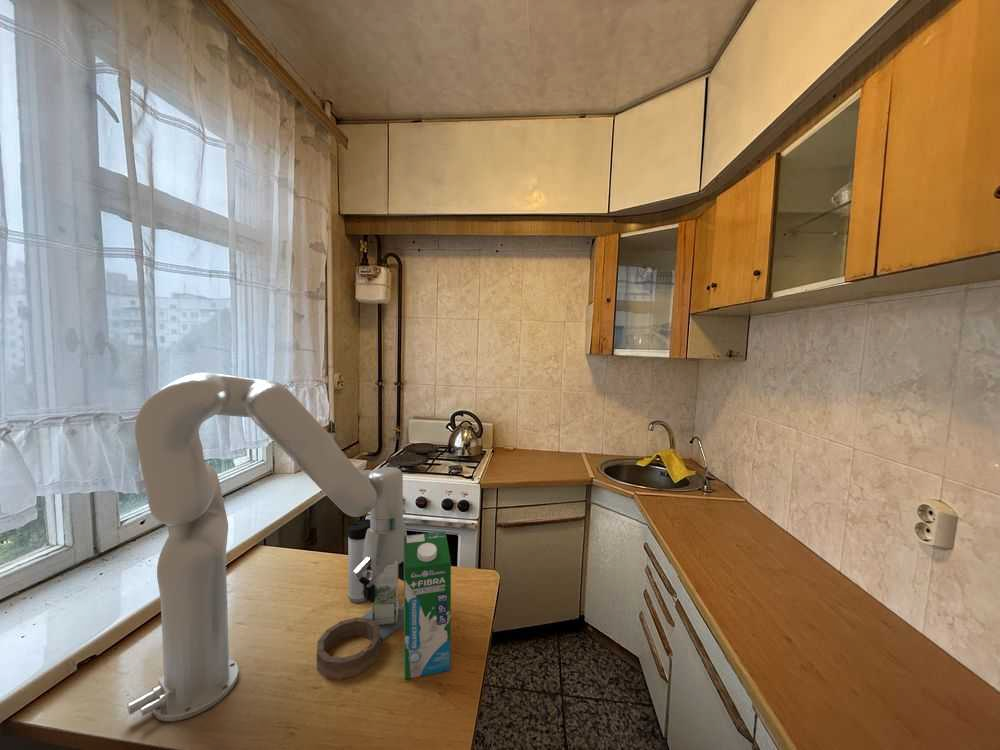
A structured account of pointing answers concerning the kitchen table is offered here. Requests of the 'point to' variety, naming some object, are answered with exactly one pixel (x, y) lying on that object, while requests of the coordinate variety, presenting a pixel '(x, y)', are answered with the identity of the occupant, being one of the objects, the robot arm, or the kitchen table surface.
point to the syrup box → (386, 596)
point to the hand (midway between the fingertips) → (386, 589)
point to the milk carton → (427, 604)
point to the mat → (391, 628)
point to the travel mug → (356, 558)
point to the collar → (353, 663)
